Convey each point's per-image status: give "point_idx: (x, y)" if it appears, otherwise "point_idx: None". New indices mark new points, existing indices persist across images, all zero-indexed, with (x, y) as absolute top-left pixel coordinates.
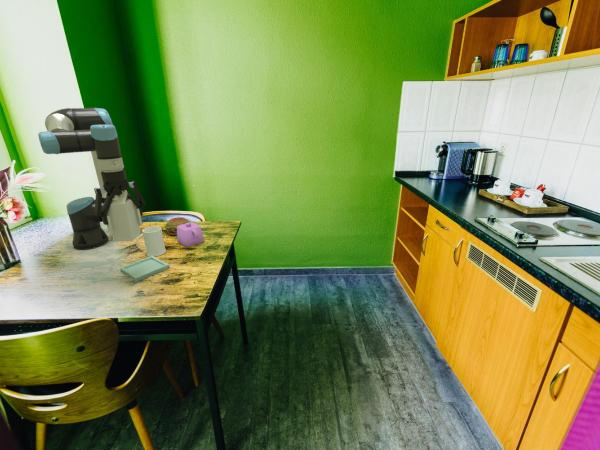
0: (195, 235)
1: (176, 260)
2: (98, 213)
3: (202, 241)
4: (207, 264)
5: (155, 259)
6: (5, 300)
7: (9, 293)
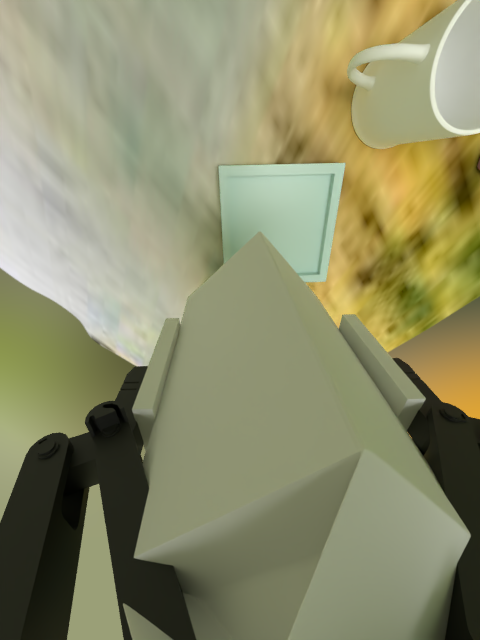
0: None
1: (367, 244)
2: (64, 500)
3: None
4: (382, 331)
5: (329, 208)
6: None
7: None
